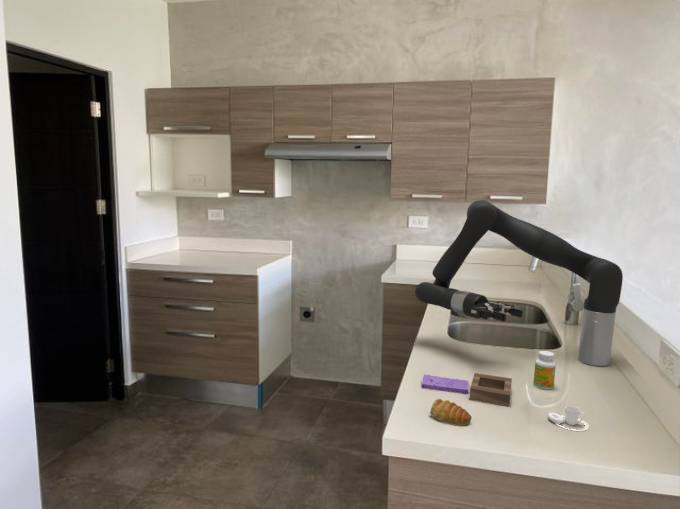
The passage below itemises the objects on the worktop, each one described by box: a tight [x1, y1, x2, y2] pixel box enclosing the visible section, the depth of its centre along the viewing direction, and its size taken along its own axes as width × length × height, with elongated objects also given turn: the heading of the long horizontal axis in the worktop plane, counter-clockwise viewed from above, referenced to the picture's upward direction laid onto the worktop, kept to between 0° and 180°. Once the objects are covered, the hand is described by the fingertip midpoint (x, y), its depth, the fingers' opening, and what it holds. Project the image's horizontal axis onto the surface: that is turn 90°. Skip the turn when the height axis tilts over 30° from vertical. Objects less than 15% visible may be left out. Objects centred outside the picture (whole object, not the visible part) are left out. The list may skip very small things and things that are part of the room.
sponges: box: [421, 373, 469, 395], centre depth 142 cm, size 7×13×2 cm, turn 76°
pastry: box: [429, 398, 472, 426], centre depth 123 cm, size 9×7×4 cm
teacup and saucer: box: [547, 405, 590, 432], centre depth 123 cm, size 9×8×4 cm
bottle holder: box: [469, 372, 513, 407], centre depth 138 cm, size 12×10×3 cm
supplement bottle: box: [532, 350, 557, 391], centre depth 144 cm, size 5×5×10 cm
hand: (514, 316), depth 151 cm, fingers open, 8 cm apart
